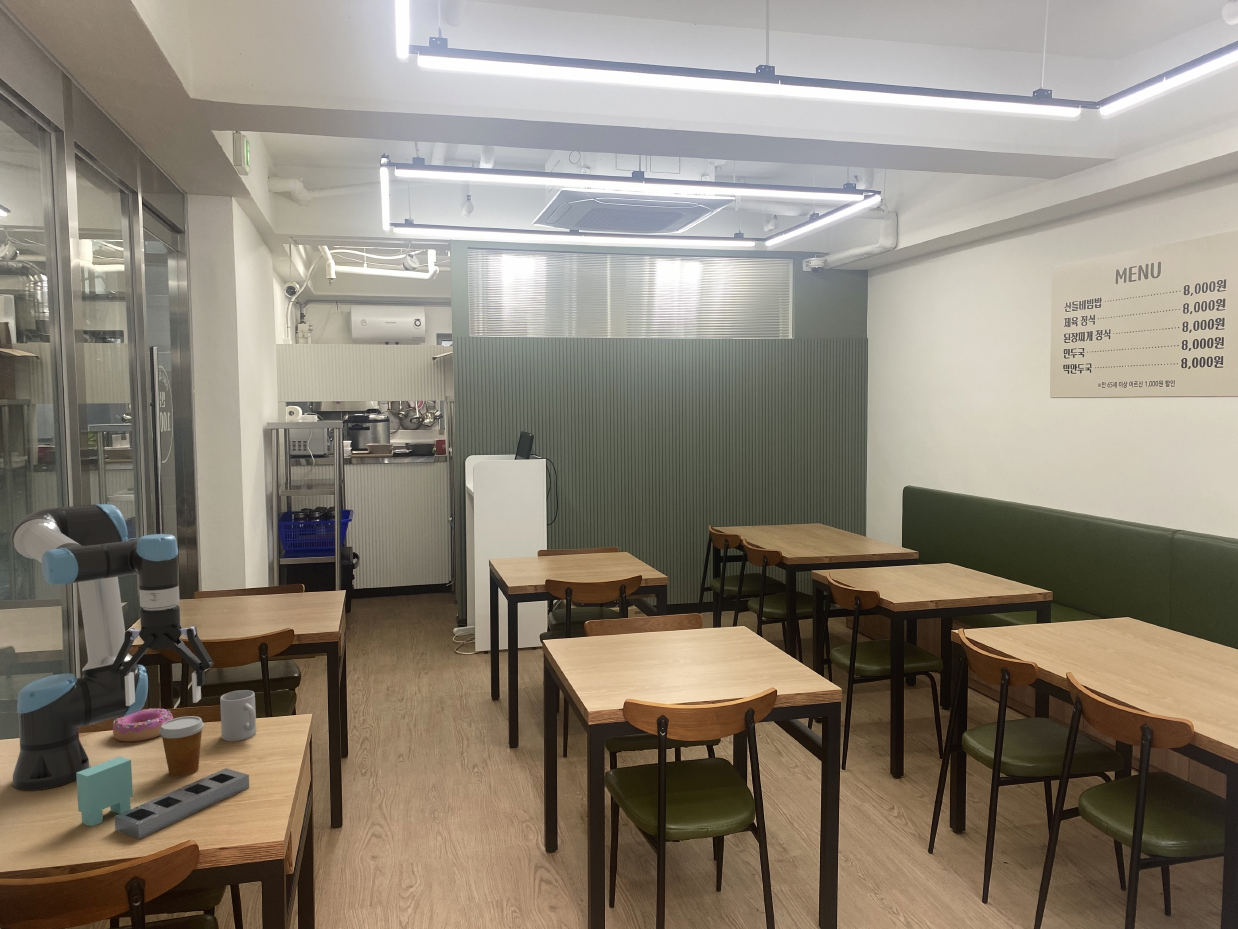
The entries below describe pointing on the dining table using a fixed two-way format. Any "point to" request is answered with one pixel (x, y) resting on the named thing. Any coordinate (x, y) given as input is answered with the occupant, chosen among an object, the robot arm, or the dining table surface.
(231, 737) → the mug
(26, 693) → the robot arm
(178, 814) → the grey long flat bar
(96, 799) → the mint green arch block
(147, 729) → the donut
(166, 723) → the disposable coffee cup
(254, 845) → the dining table surface
